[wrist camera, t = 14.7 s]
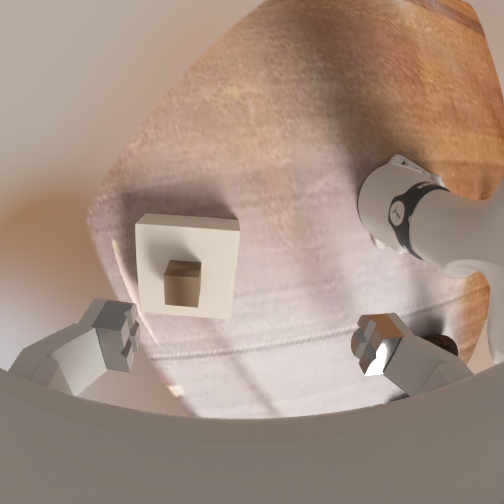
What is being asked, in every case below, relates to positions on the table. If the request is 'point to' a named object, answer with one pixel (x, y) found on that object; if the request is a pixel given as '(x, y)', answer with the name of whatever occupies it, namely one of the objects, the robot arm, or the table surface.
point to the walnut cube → (182, 283)
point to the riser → (187, 249)
